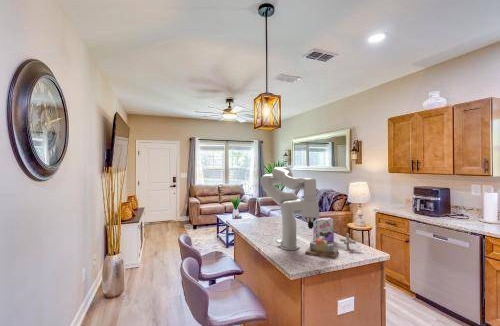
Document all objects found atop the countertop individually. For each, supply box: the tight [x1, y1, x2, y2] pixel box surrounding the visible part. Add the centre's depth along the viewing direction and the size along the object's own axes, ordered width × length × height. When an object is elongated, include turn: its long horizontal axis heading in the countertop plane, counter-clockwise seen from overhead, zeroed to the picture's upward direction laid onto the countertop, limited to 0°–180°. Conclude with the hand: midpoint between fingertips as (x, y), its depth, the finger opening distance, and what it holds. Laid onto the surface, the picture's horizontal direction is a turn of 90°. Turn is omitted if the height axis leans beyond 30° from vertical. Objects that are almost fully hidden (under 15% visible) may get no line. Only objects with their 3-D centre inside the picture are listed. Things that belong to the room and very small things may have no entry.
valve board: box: [304, 246, 339, 260], centre depth 161 cm, size 18×13×2 cm
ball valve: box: [309, 240, 335, 253], centre depth 161 cm, size 14×6×7 cm, turn 63°
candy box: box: [312, 217, 335, 243], centre depth 187 cm, size 14×6×16 cm, turn 101°
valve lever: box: [314, 236, 324, 245], centre depth 157 cm, size 13×3×3 cm, turn 153°
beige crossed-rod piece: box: [339, 233, 357, 250], centre depth 169 cm, size 10×10×10 cm
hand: (310, 228), depth 155 cm, fingers closed
